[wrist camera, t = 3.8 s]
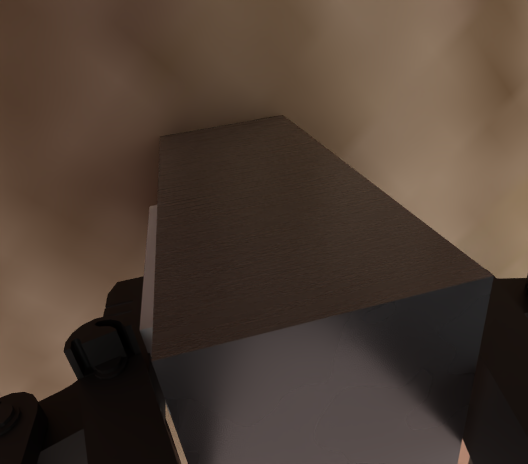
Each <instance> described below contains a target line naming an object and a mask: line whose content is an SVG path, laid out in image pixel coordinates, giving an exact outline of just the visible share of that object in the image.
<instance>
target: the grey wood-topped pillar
mask: <svg viewBox="0 0 528 464" xmlns="http://www.w3.org/2000/svg"><path fill="white" fill-rule="evenodd" d="M493 278H494V276H493V275H492V274H491V273H489V272H488V271H487V270H485V269H484V268H483V267H482V266H480V265H479V264H478V263H476V262H475V261H474V260H472V259H471V258H470V257H468V256H467V255H466V254H464V253H463V252H462V251H461V250H459V249H458V248H457V247H455V246H454V245H453V244H451V243H450V242H449V241H447V240H446V239H445V238H443V237H442V236H441V235H440V234H438V233H437V232H436V231H434V230H433V229H432V228H430V227H429V226H428V225H426V224H425V223H424V222H422V221H421V220H420V219H419V218H417V217H416V216H415V215H413V214H412V213H411V212H409V211H408V210H407V209H405V208H404V207H403V206H402V205H400V204H399V203H398V202H396V201H395V200H394V199H392V198H391V197H390V196H388V195H387V194H386V193H384V192H383V191H382V190H381V189H379V188H378V187H377V186H375V185H374V184H373V183H371V182H370V181H369V180H367V179H366V178H365V177H363V176H362V175H361V174H360V173H358V172H357V171H356V170H354V169H353V168H352V167H350V166H349V165H348V164H346V163H345V162H344V161H342V160H341V159H340V158H339V157H337V156H336V155H335V154H333V153H332V152H331V151H329V150H328V149H327V148H325V147H324V146H323V145H321V144H320V143H319V142H318V141H316V140H315V139H314V138H312V137H311V136H310V135H308V134H307V133H306V132H304V131H303V130H302V129H300V128H299V127H298V126H297V125H295V124H294V123H293V122H291V121H290V120H289V119H287V118H286V117H285V116H283V115H282V116H276V117H270V118H265V119H259V120H253V121H247V122H242V123H236V124H230V125H225V126H219V127H213V128H208V129H202V130H196V131H190V132H185V133H179V134H173V135H168V136H162V137H160V147H159V174H158V200H157V227H156V254H155V280H154V307H153V333H152V360H151V362H152V364H153V367H154V370H155V373H156V376H157V378H158V381H159V384H160V387H161V390H162V392H163V395H164V398H165V401H166V403H167V406H168V409H169V412H170V415H171V417H172V420H173V423H174V426H175V429H176V431H177V434H178V437H179V440H180V443H181V445H182V448H183V451H184V454H185V456H186V459H187V462H188V464H458V459H459V454H460V449H461V444H462V438H463V433H464V428H465V423H466V418H467V413H468V407H469V402H470V397H471V392H472V387H473V381H474V376H475V371H476V366H477V361H478V356H479V350H480V345H481V340H482V335H483V330H484V325H485V319H486V314H487V309H488V304H489V299H490V293H491V288H492V283H493Z"/></svg>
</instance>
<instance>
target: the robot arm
mask: <svg viewBox="0 0 528 464" xmlns="http://www.w3.org/2000/svg"><path fill="white" fill-rule="evenodd" d="M156 227H157V205H154V206H149V219H148V231H147V243H146V256H145V268H144V276H143V277H139V278H134V279H130V280H125V281H121V282H117V283H116V285H115V286H114V287H113V288H112V290H111V291H110V292H109V294H108V296H107V301H106V306H105V307H106V309H105V311H104V315H103V317H101V318H97V319H94V320H92V321H90V322H88V323H86V324H84V325H82V326H81V327H79V328H78V329H77V330H76V331H74V332H73V333H72V334H71V336H70V337H69V338H68V340H67V341H66V343H65V347H64V353H65V355H66V357H67V359H68V361H69V363H70V365H71V367H72V369H73V371H74V373H75V375H76V377H77V379H78V380H77V381H76V382H75V383H73V384H72V385H70V386H69V387H67V388H65V389H63V390H62V391H60V392H58V393H56V394H54V395H51V396H49V397H47V398H45V399H43V400H41V401H39V402H38V401H37V399H36V398H35V397H34V395H33V394H29V393H26V392H19V393H11V394H9V395H6V396H3V397H1V398H0V464H181V461H180V459H179V456H178V453H177V450H176V447H175V444H174V441H173V438H172V435H171V432H170V429H169V426H168V424H167V421H166V418H165V402H166V401H165V398H164V395H163V392H162V390H161V387H160V384H159V381H158V378H157V376H156V373H155V370H154V367H153V364H152V362H151V360H152V333H153V307H154V280H155V254H156ZM485 270H486V269H485ZM487 271H488V270H487ZM488 272H489V271H488ZM489 273H490V272H489ZM493 276H494V275H493ZM166 405H167V403H166ZM167 408H168V406H167ZM168 411H169V409H168ZM169 413H170V412H169ZM462 439H463V441H464V444H465V446H466V448H467V451H468V453H469V455H470V458H471V460H472V462H473V464H528V275H527V278H508V279H497V278H495V276H494V278H493V283H492V288H491V293H490V299H489V304H488V309H487V314H486V319H485V325H484V330H483V335H482V340H481V345H480V350H479V356H478V361H477V366H476V371H475V376H474V381H473V387H472V392H471V397H470V402H469V407H468V413H467V418H466V423H465V428H464V433H463V438H462Z"/></svg>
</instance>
